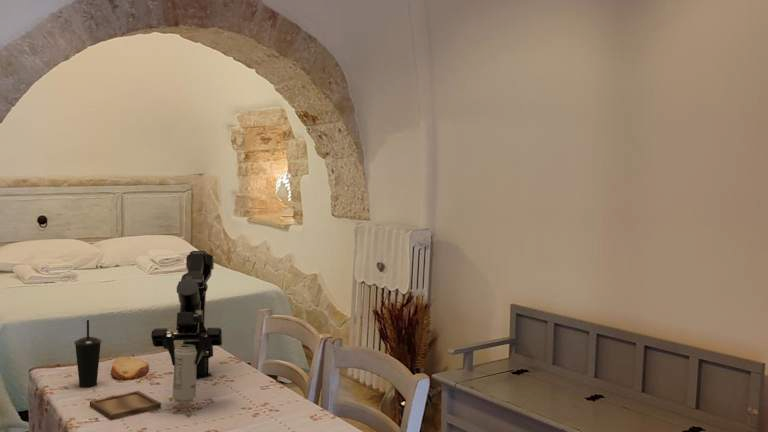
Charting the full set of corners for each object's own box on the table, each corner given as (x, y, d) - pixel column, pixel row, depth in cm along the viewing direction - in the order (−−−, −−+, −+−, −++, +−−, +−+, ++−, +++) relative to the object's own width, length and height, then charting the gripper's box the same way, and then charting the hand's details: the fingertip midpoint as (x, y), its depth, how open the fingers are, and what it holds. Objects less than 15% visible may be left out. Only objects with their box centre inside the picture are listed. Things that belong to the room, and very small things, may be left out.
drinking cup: (91, 390, 207) (91, 323, 206) (68, 388, 209) (68, 322, 208) (107, 382, 215) (106, 318, 214) (84, 380, 216) (84, 316, 215)
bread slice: (125, 361, 240) (125, 350, 239) (167, 368, 233) (167, 357, 232) (84, 375, 223) (84, 363, 223) (128, 383, 216) (128, 371, 216)
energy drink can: (196, 402, 190) (199, 348, 190) (174, 404, 188) (176, 349, 187) (193, 396, 196) (195, 343, 195) (171, 397, 193) (173, 344, 193)
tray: (138, 395, 203) (138, 390, 203) (160, 408, 193) (160, 402, 193) (89, 406, 193) (89, 401, 193) (110, 420, 183) (110, 414, 183)
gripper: (152, 299, 192) (145, 350, 182) (221, 299, 195) (218, 348, 185) (157, 321, 200) (150, 370, 190) (223, 320, 203) (220, 368, 193)
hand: (184, 364), depth 190 cm, fingers closed on energy drink can, 6 cm apart
